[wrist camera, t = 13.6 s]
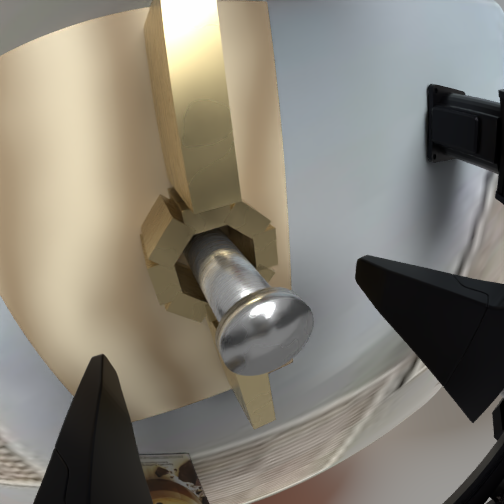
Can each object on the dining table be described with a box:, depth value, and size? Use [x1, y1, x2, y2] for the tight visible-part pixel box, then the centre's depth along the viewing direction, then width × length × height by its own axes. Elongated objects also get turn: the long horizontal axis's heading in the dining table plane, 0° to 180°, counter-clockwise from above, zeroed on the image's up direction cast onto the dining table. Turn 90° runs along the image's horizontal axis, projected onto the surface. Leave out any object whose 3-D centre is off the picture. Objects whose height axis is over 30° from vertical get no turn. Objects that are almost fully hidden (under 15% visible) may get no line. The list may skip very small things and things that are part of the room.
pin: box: [183, 227, 314, 376], centre depth 11 cm, size 3×3×8 cm
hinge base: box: [140, 0, 278, 323], centre depth 10 cm, size 5×13×5 cm, turn 7°
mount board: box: [0, 1, 293, 422], centre depth 14 cm, size 16×24×1 cm, turn 7°
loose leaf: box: [206, 316, 276, 429], centre depth 16 cm, size 2×8×4 cm, turn 9°
